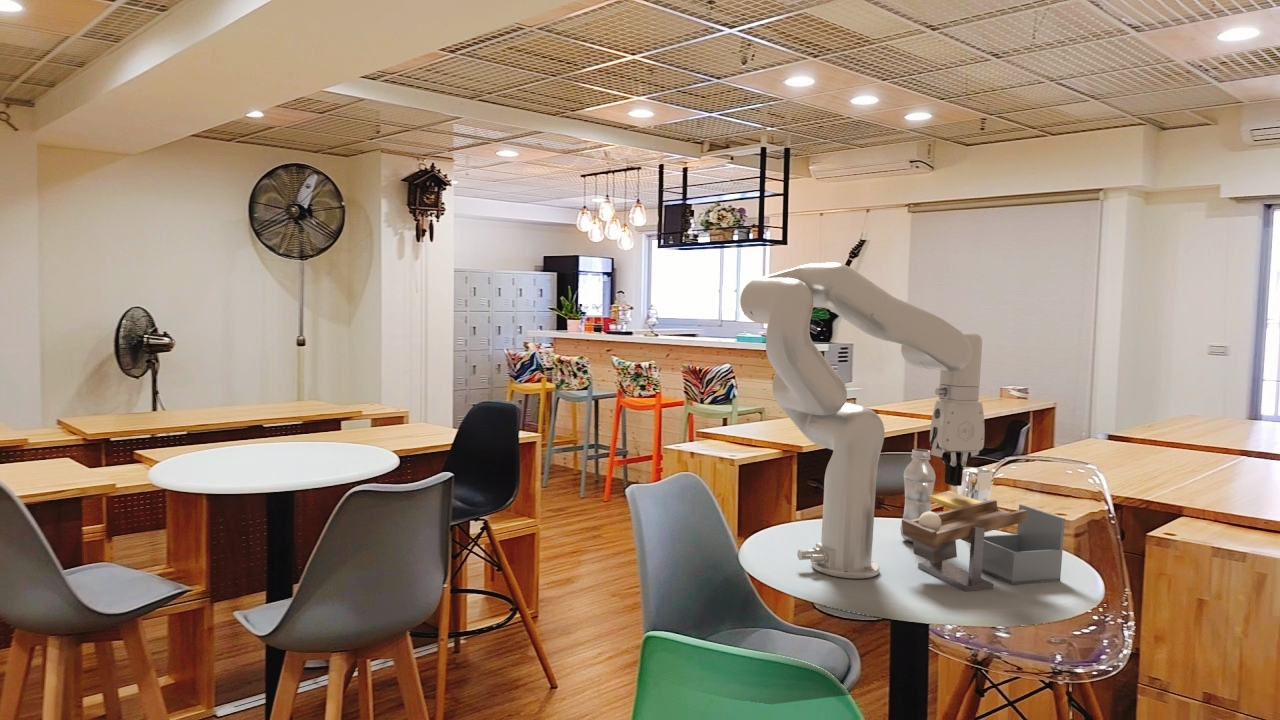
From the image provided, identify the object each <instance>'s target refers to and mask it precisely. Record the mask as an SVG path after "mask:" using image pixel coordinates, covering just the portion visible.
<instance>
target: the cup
mask: <svg viewBox="0 0 1280 720" xmlns="http://www.w3.org/2000/svg"><path fill="white" fill-rule="evenodd" d="M1018 505H1019V506H1018V510H1022V509H1023V510H1026V511H1027V521H1025V522H1022V523H1018V524H1017V532H1016V533H1012V534H1010V533H1009V534H995V535H994V534H992V535H985V536H984V545H983V559H982V572H983V573H984V574H986V575H987V574H988V575H990V576H992V577H994V578H996V579H998V580H1000V581H1002V582H1005V583H1008V584H1010V585H1025V584H1026V585H1027V584H1037V583H1038V584H1039V583H1050V582H1051V583H1052V582H1061V576H1062V574H1061V573H1062V561H1063V550H1064V539H1065V538H1064V535H1065V534H1064V533H1065V522H1066V518H1064V517H1062V516H1059V515H1056V514H1052V513H1048V512H1046V511H1043V510H1040V509H1037V508H1034V507H1031V506H1027V505H1025V504H1018Z"/></svg>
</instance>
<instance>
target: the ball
mask: <svg viewBox="0 0 1280 720" xmlns="http://www.w3.org/2000/svg"><path fill="white" fill-rule="evenodd" d="M934 512H935V511H931V512H930V511H929V512H925V513H923V514H922V515H921V516H920V518H919V524H920V525H923V526H925V527H927V528H930V529H932V530H935V531H936V532H937V531H938V530H939V529H940V527H941V519H940V517H939V516H938V515H937V514H936V513H934Z"/></svg>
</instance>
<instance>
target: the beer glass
mask: <svg viewBox="0 0 1280 720" xmlns="http://www.w3.org/2000/svg"><path fill="white" fill-rule="evenodd" d="M956 491H957V492H956V493H958V494H961V495H964V496H966V497H969V498H972V499H975V500H978V501H981V502H985V501H989V500H991V495H992V494H991V493H992V471H991V470H989V469H987V468H982V467H972V466H963V474H962V485H961V486H957V490H956ZM984 536H986V532H984Z"/></svg>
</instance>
